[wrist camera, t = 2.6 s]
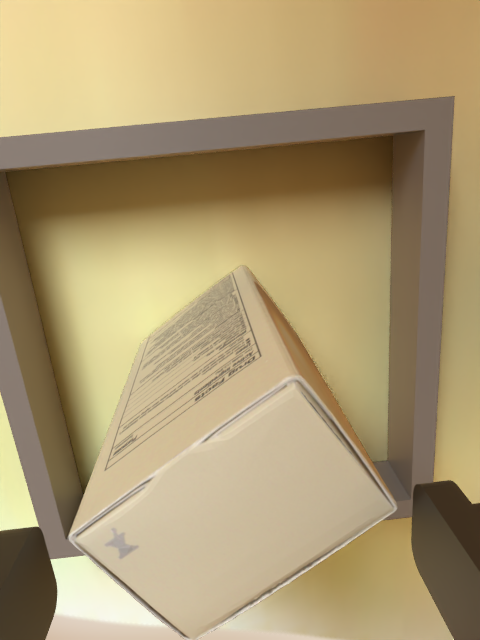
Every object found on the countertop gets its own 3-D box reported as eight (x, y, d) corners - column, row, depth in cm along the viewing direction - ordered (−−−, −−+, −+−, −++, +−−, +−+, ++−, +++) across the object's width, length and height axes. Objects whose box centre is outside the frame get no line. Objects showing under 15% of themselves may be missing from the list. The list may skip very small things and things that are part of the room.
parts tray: (-27, 147, 18) (-71, 143, 15) (417, 107, 19) (454, 96, 16) (68, 512, 24) (48, 559, 21) (405, 474, 24) (431, 514, 22)
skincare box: (196, 405, 22) (180, 659, 11) (137, 340, 21) (48, 548, 10) (303, 329, 21) (411, 517, 10) (249, 256, 20) (299, 374, 9)
